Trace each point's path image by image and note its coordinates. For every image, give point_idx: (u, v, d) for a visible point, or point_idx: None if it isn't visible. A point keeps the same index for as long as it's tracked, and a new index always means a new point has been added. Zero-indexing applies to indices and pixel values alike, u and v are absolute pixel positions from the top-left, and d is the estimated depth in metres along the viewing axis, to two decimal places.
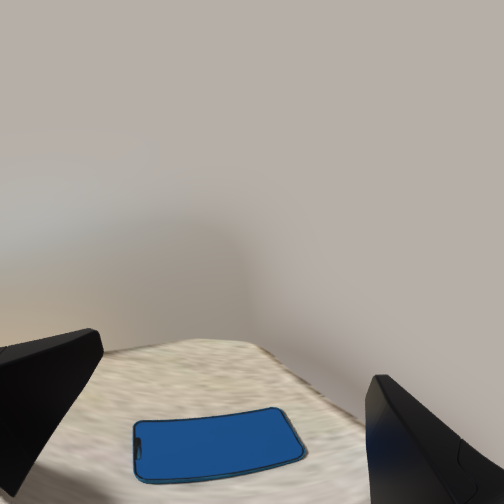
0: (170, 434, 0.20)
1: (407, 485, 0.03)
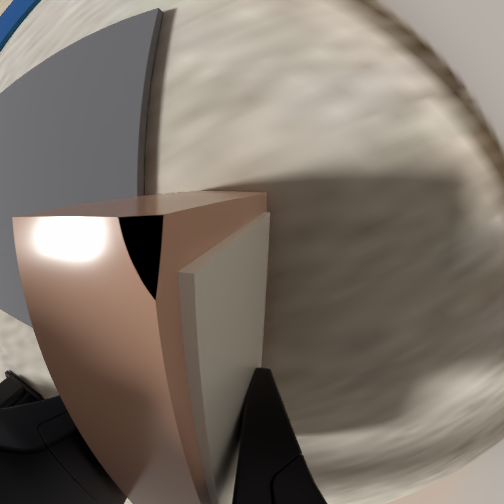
0: None
1: None
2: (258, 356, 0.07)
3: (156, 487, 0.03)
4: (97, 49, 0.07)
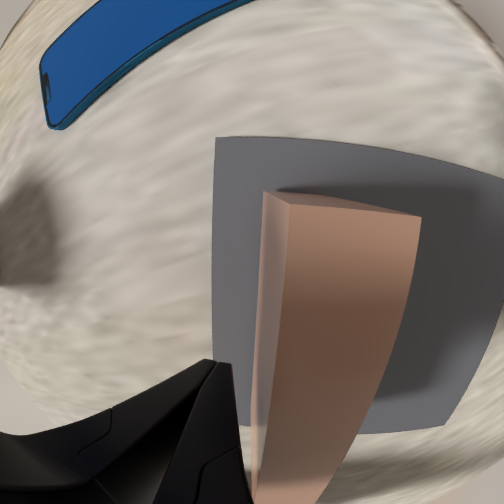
0: (77, 36, 0.09)
1: None
2: None
3: (326, 432, 0.04)
4: (487, 200, 0.08)
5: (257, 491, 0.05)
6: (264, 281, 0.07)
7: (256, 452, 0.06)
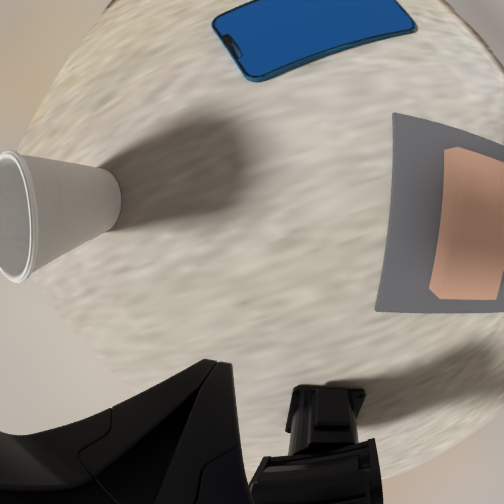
0: (261, 15, 0.14)
1: None
2: None
3: None
4: None
5: None
6: (486, 188, 0.12)
7: (495, 259, 0.13)
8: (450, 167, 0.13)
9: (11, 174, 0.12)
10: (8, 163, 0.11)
